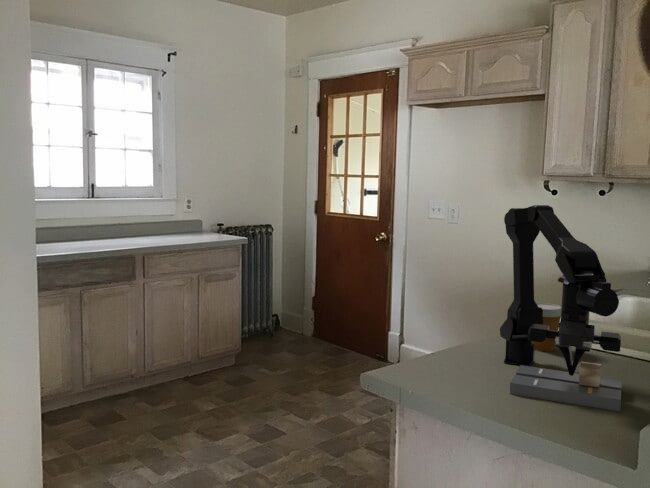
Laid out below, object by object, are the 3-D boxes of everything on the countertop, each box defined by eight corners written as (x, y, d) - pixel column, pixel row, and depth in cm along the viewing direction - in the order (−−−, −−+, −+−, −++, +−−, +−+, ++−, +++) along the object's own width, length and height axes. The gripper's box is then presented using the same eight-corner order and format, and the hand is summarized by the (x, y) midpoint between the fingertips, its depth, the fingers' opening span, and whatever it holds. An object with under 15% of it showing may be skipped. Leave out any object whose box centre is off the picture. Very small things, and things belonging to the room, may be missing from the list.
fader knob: (578, 392, 134) (579, 366, 133) (579, 386, 137) (581, 361, 137) (598, 395, 132) (600, 369, 131) (599, 389, 136) (600, 364, 135)
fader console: (509, 393, 135) (510, 382, 135) (519, 375, 148) (520, 364, 148) (620, 411, 126) (621, 399, 126) (620, 390, 138) (621, 379, 138)
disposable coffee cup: (560, 345, 174) (562, 304, 173) (561, 354, 165) (563, 311, 164) (524, 342, 177) (526, 301, 176) (524, 351, 168) (526, 308, 167)
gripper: (525, 308, 131) (521, 379, 133) (622, 318, 123) (617, 393, 125) (532, 299, 141) (529, 365, 143) (623, 307, 133) (618, 377, 135)
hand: (571, 375), depth 136 cm, fingers closed
